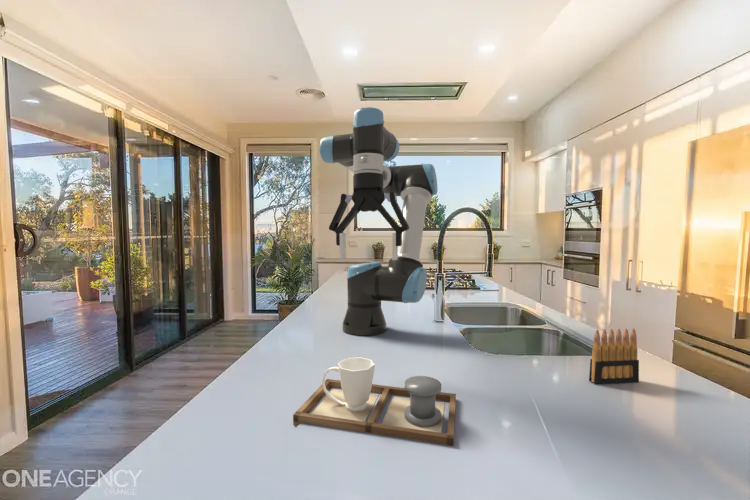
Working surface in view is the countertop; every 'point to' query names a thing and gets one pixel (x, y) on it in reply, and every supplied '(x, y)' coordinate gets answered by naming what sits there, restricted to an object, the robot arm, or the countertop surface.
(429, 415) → the doorknob
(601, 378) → the ammunition clip
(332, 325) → the countertop surface
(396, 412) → the slot tray
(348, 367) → the cup
